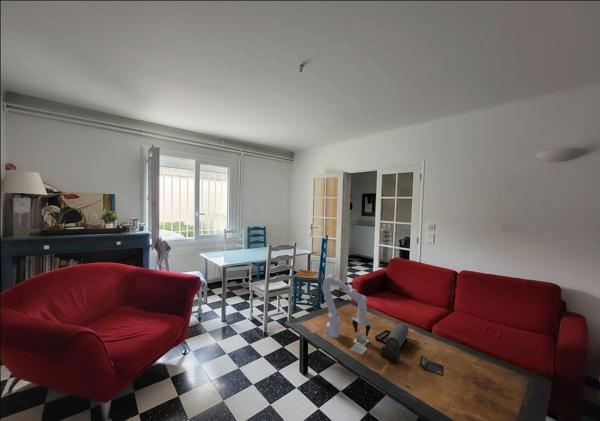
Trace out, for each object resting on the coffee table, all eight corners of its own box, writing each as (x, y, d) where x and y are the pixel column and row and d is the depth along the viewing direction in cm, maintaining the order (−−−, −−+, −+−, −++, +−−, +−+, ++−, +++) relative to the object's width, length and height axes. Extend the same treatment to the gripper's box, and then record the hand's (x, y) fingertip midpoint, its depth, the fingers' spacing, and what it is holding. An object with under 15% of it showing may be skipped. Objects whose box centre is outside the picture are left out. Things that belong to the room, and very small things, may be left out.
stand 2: (350, 351, 157) (350, 349, 157) (355, 345, 163) (355, 343, 163) (361, 356, 152) (362, 354, 152) (366, 350, 159) (366, 347, 159)
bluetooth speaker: (400, 354, 155) (401, 339, 154) (385, 348, 161) (386, 334, 160) (409, 338, 173) (409, 324, 172) (395, 333, 179) (396, 320, 178)
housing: (356, 342, 165) (356, 334, 165) (359, 337, 170) (360, 330, 170) (362, 344, 162) (362, 337, 162) (366, 340, 167) (366, 333, 167)
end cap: (380, 359, 150) (380, 348, 150) (384, 353, 156) (384, 343, 156) (397, 366, 144) (397, 355, 144) (400, 360, 150) (401, 349, 150)
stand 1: (353, 343, 165) (353, 341, 165) (357, 338, 172) (357, 336, 172) (364, 348, 161) (364, 346, 161) (368, 342, 167) (369, 340, 167)
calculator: (442, 376, 137) (442, 371, 137) (419, 368, 143) (419, 363, 143) (442, 366, 145) (442, 361, 145) (420, 359, 151) (421, 354, 151)
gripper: (349, 313, 166) (349, 332, 167) (370, 320, 158) (369, 340, 158) (353, 309, 172) (353, 328, 173) (374, 315, 163) (373, 335, 164)
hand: (361, 333), depth 166 cm, fingers open, 7 cm apart
